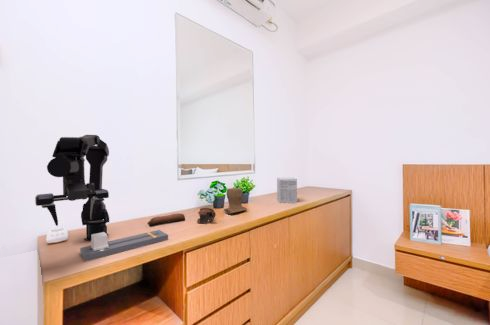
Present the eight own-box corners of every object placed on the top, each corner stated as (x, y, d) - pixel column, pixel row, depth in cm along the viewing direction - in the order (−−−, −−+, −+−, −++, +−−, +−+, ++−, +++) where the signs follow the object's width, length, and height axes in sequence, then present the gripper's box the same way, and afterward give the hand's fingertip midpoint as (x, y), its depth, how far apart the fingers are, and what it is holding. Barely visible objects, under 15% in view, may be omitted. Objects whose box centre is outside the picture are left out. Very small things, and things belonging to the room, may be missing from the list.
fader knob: (93, 251, 75) (93, 238, 75) (90, 245, 80) (90, 234, 80) (108, 247, 78) (108, 235, 78) (104, 242, 83) (104, 231, 83)
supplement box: (297, 202, 164) (297, 178, 164) (279, 203, 164) (279, 179, 164) (293, 199, 177) (293, 177, 177) (277, 199, 177) (276, 177, 177)
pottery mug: (192, 223, 116) (194, 208, 120) (205, 227, 122) (207, 213, 126) (208, 221, 109) (210, 204, 113) (221, 225, 115) (223, 210, 119)
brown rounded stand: (236, 208, 148) (235, 185, 147) (249, 211, 140) (249, 187, 139) (218, 212, 136) (218, 188, 136) (232, 216, 128) (231, 189, 128)
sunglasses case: (179, 217, 127) (181, 208, 124) (183, 226, 122) (185, 216, 119) (145, 223, 116) (146, 213, 113) (148, 232, 111) (150, 222, 109)
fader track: (84, 261, 72) (84, 255, 72) (80, 253, 79) (80, 247, 79) (168, 239, 92) (168, 234, 92) (159, 234, 98) (159, 229, 98)
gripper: (36, 178, 62) (38, 234, 62) (112, 174, 75) (113, 221, 75) (34, 176, 70) (35, 226, 70) (103, 173, 83) (104, 215, 83)
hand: (74, 222), depth 74 cm, fingers open, 9 cm apart
